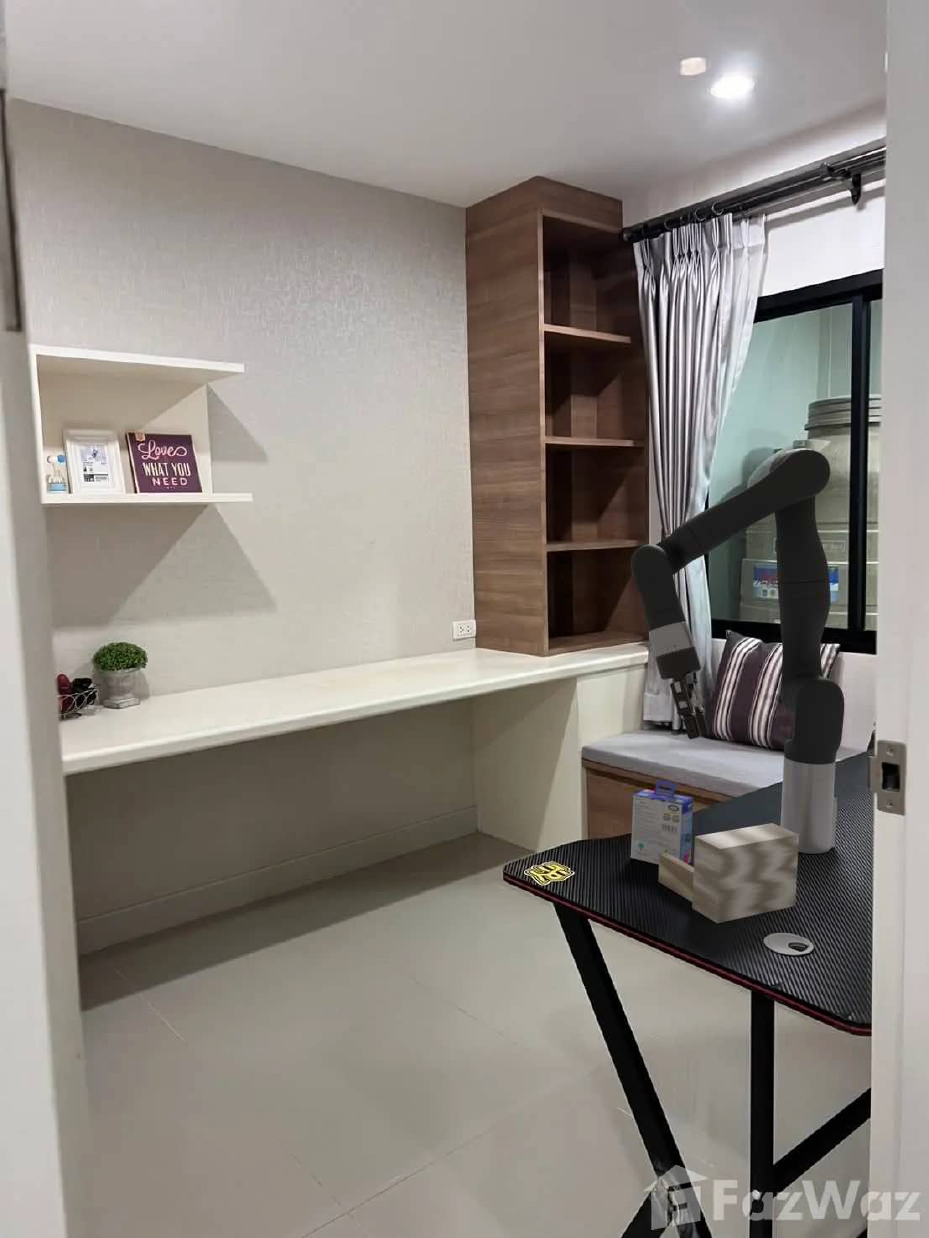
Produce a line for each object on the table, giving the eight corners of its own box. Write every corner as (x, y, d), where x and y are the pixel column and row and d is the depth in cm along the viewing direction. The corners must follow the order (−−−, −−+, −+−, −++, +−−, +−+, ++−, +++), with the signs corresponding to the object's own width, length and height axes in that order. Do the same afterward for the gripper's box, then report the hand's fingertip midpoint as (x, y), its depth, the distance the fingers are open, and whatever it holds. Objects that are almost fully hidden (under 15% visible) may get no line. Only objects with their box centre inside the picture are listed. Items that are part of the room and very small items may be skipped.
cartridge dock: (724, 868, 166) (727, 803, 164) (795, 905, 150) (798, 834, 149) (651, 883, 159) (653, 815, 157) (717, 923, 144) (720, 848, 142)
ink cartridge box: (692, 861, 169) (695, 784, 167) (680, 871, 164) (683, 792, 163) (642, 849, 175) (645, 775, 173) (629, 858, 170) (632, 782, 168)
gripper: (687, 644, 162) (713, 734, 160) (700, 645, 175) (725, 729, 173) (646, 655, 165) (671, 744, 162) (662, 656, 178) (686, 738, 175)
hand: (699, 736), depth 168 cm, fingers open, 8 cm apart
